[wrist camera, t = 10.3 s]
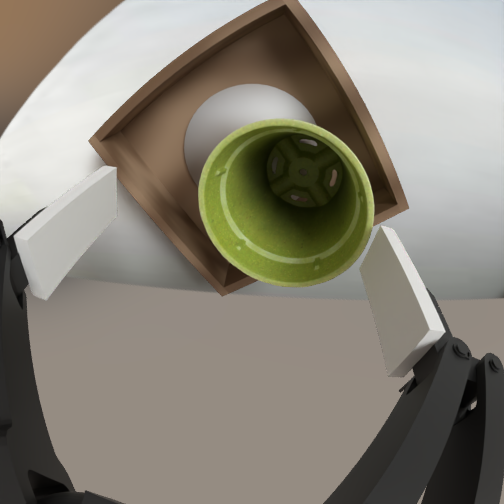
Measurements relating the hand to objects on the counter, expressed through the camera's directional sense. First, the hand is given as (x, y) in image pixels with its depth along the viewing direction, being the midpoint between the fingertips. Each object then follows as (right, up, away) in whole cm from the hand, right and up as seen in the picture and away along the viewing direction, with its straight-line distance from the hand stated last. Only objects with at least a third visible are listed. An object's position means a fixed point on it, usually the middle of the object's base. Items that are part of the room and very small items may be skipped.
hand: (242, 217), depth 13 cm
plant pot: (+5, +5, +8) cm, 11 cm away
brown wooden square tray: (0, +7, +9) cm, 12 cm away
